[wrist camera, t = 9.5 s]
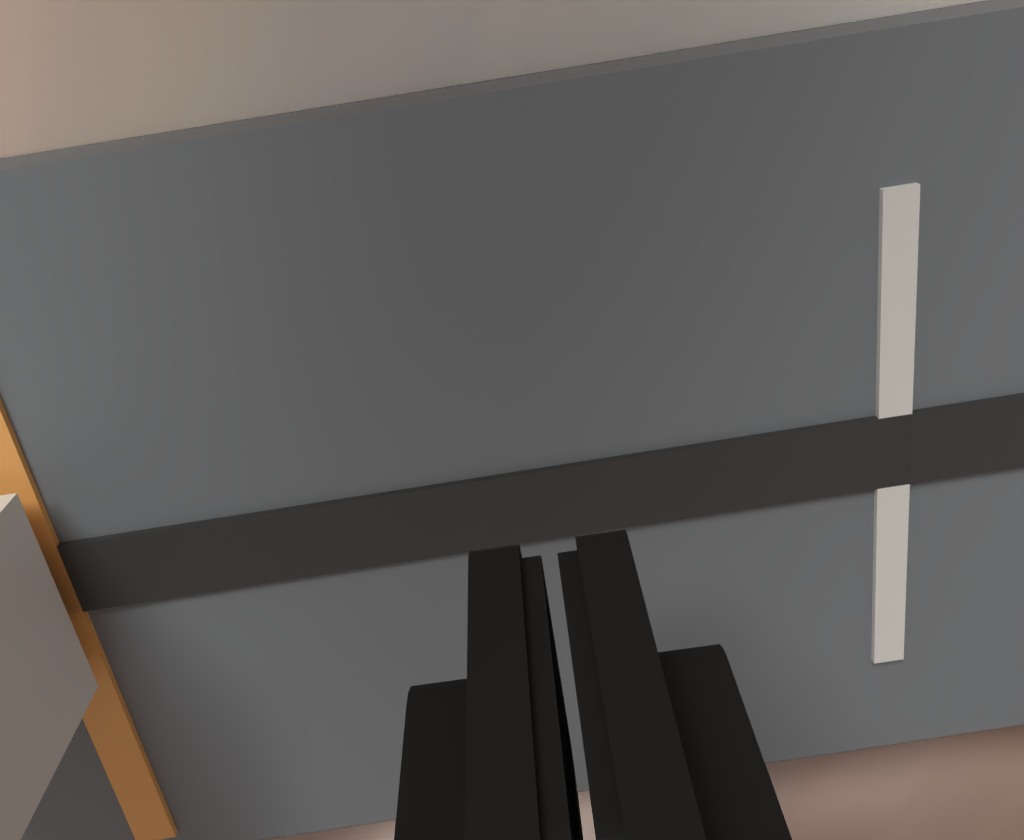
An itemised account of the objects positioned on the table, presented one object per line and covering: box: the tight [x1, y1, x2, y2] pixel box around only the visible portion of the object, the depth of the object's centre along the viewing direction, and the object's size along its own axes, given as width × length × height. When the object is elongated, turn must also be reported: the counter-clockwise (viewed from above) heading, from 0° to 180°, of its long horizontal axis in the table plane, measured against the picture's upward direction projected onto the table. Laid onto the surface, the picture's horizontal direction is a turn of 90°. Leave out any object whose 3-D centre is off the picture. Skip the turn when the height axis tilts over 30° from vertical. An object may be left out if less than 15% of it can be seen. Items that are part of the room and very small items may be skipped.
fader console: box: [0, 0, 1024, 840], centre depth 15 cm, size 26×12×2 cm, turn 99°
